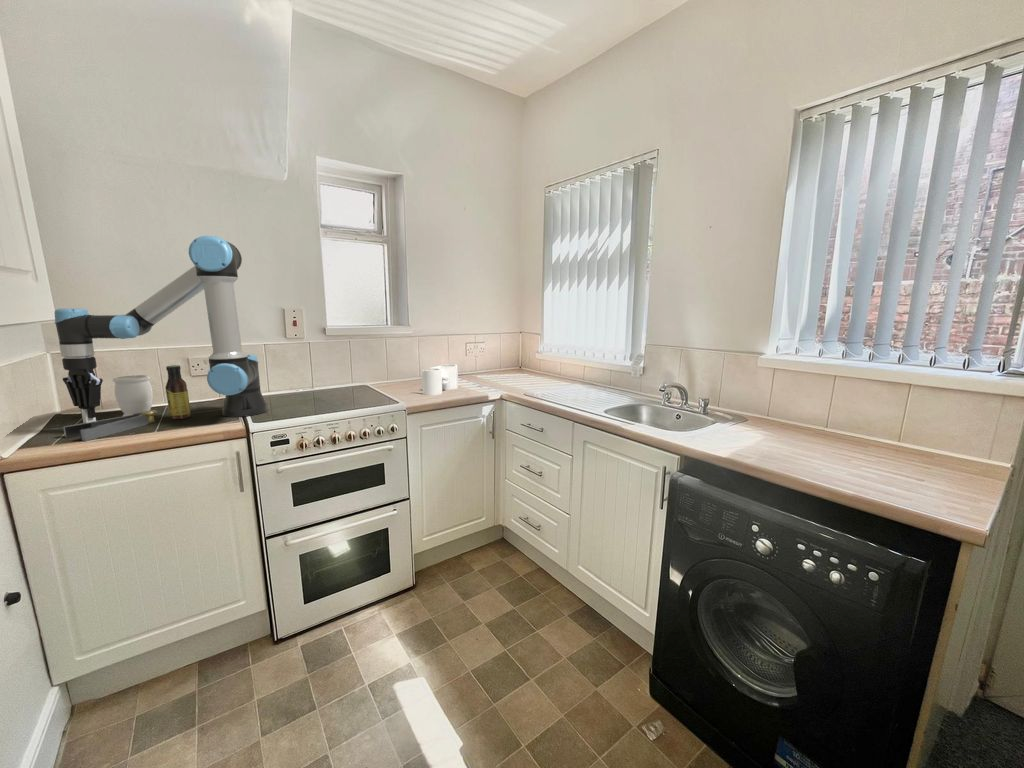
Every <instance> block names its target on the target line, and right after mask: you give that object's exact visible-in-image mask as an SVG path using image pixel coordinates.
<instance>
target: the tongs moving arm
mask: <svg viewBox="0 0 1024 768" xmlns="http://www.w3.org/2000/svg"><path fill="white" fill-rule="evenodd" d="M157 413H158V411H157V410H155V409H153V410H152V409H150V411H144V412H140V413H134V414H133V415H128V416H123V415H122V416H116V417H112V418H111V417H110V418H106V419H100V420H96V421H93V422H87V423H83V422H82V423H77V424H70V425H65V426H62V428H63V433H64V438H66V439H68V438H75V437H81V435H80V430H82V429H86V428H90V427H94V426H98V425H104V424H108V423H112V422H116V421H120V420H124V419H128V418H132V417H136V416H140V415H157Z"/></svg>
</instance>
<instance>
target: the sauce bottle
mask: <svg viewBox="0 0 1024 768" xmlns="http://www.w3.org/2000/svg"><path fill="white" fill-rule="evenodd" d="M165 369H166V372H167V382H166V385H165V393H166V399H167V401H166V402H167V407H168V412H169V416H170V418H171V419H172V420H182V419H188V418H190V417H191V415H192V414H191V404H190V399H189V392H188V391H189V390H188V388H187V387H188V386H187V382H186V381H185V380H184V379H183V378H182V374H181V365H179V364H177V365H176V364H175V365H174V364H173V365H166V367H165Z"/></svg>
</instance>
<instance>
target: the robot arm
mask: <svg viewBox="0 0 1024 768" xmlns="http://www.w3.org/2000/svg"><path fill="white" fill-rule="evenodd" d="M188 255H189V259H190V261H191V263H193V265H194V266H193V267H191V268H189V269H187V271H185V272H183V273H182V274H181V275H179V276H177V278H175V279H174V280H173V281H171V282H170V283H168V284H167V285H165V286H164V287H162V288H161V289H160V290H158V291H157V292H156V293H154V294H153V295H151V296H150V297H149V298H147V299H146V300H144V301H142V302H141V303H140V304H138V305H137V306H136V307H134V308H133V309H132V310H130V311H129V312H127V313H125V314H113V315H112V314H111V315H110V314H108V315H103V314H102V315H99V314H98V315H95V314H89V312H88V310H87V309H85V308H57V309H55V311H54V324H55V327H56V332H57V336H58V345H59V351H60V356H61V357H63V358H62V359H61V361H62V366H63V370H65V371H68V372H67V377H62V381H63V383H64V384H65V386H66V388H67V391H68V394H69V397H70V399H71V402H72V404H73V407H78V409H80V415H81V417H82V423H87V422H93V421H97V419H96V417H97V413H96V410H95V409H96V408H97V407H100V406H101V393H102V392H101V391H102V389H101V388H102V384H103V382H104V380H103V378H98V377H97V376H96V374H95V371H94V370H95V369H96V368H97V367H98V364H97V360H96V357H95V356H94V355H95V348H94V344H93V343H94V342H93V339H120V340H127V339H135V338H137V337H138V336H139V337H140V336H143V335H146V334H147V333H150V331H152V328H153V327H154V326H155V325H156V324H157V323H159V322H160V321H161V320H163V319H164V318H166V317H167V316H168V315H170V314H172V312H175V310H177V309H179V307H181V306H182V305H184V304H186V303H187V302H188V301H190V300H191V299H192V298H194V297H195V296H197V295H198V294H199V293H201V292H202V291H203V290H204V296H205V297H204V298H205V305H206V311H207V319H208V326H209V331H210V332H209V333H210V340H211V347H212V352H211V353H212V354H210V355H209V356H208V363H209V370H208V371H207V374H206V375H207V376H206V381H207V384H208V386H209V388H211V390H212V391H213V392H215V393H216V394H220V395H223V396H225V397H224V403H223V407H222V408H221V411H222V416H223V417H228V418H240V417H248V416H250V417H251V416H255V415H259V414H263V413H265V412H268V404H267V402H266V401H265V398H264V396H263V394H262V391H261V383H260V374H259V371H260V370H259V361H258V357H257V355H255V354H247V353H246V352H244V351H243V349H242V348H243V347H242V341H241V340H242V339H241V333H240V325H239V323H240V322H239V317H238V316H239V315H238V308H237V300H236V294H235V293H236V292H235V285H234V283H235V282H236V281H237V280H239V279H238V278H239V276H238V270H239V269H240V267H241V266H242V260H243V259H242V254H241V252H240V250H239V249H238V248H237V246H236V245H234V244H233V243H231V242H229V241H227V240H224V239H223V238H221V237H219V236H217V235H215V236H214V235H201V236H198V237H196V238H194V240H192V242H191V243H190V244H189V246H188Z"/></svg>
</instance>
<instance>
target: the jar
mask: <svg viewBox="0 0 1024 768" xmlns="http://www.w3.org/2000/svg"><path fill="white" fill-rule="evenodd" d="M150 379H151V376H150V375H145V374H144V375H143V374H141V375H139V374H138V375H137V374H136V375H126V376H119V377H115V378H112V382H113V383H115V384H114V396H115V399H116V403H117V404H118V406H119V407H118V408H119V410H120V411H122V413H123V414H122V416H128V415H133V414H134V413H140V412H144V411H150V410H152V409H151V408H152V406H153V396H154V395H153V393H154V392H153V387H152V384H151V382H150V381H149V380H150Z"/></svg>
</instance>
